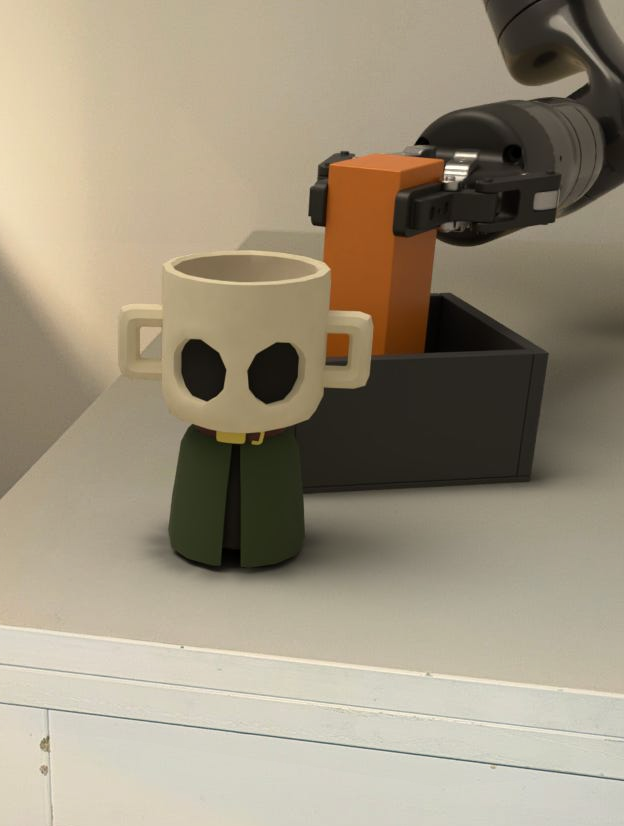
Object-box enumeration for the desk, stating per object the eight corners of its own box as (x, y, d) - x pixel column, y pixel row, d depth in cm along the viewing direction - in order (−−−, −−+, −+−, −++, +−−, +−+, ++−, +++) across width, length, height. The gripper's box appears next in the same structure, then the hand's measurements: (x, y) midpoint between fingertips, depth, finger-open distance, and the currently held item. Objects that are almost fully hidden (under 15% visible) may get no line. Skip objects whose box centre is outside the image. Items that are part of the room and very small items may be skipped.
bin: (438, 409, 80) (451, 292, 77) (529, 486, 68) (549, 352, 65) (221, 418, 78) (224, 299, 75) (276, 500, 66) (283, 362, 63)
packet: (358, 357, 74) (374, 152, 69) (422, 369, 72) (445, 159, 67) (314, 378, 71) (328, 163, 66) (381, 391, 69) (401, 170, 63)
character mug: (106, 576, 58) (103, 279, 52) (130, 516, 64) (129, 245, 58) (354, 591, 57) (380, 288, 51) (354, 528, 63) (376, 252, 57)
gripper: (392, 95, 79) (240, 119, 67) (626, 110, 72) (503, 141, 60) (381, 222, 83) (235, 268, 71) (603, 249, 75) (483, 306, 63)
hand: (359, 210), depth 65 cm, fingers closed on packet, 4 cm apart
